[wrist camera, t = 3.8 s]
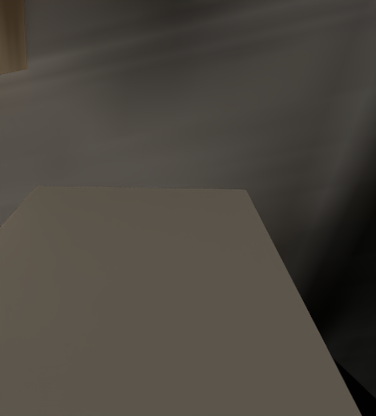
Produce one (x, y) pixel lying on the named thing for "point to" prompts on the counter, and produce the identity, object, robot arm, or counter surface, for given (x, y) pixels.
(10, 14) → the oak block
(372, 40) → the counter surface
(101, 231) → the ceramic cube
